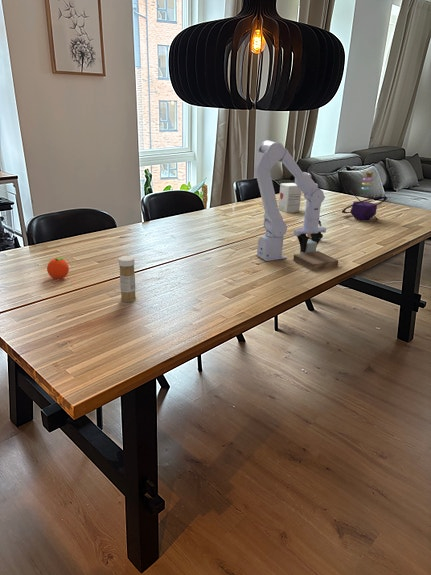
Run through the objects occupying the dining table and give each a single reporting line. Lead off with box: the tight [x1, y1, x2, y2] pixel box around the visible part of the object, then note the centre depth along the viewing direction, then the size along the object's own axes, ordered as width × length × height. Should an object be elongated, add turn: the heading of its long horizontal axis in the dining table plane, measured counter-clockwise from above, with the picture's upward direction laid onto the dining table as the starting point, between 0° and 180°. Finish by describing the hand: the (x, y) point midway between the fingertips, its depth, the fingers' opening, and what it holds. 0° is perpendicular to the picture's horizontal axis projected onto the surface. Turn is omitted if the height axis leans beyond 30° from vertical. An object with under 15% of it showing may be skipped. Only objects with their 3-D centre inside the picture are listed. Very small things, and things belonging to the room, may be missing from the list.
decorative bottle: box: [341, 171, 388, 222], centre depth 235 cm, size 22×21×25 cm
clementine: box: [46, 257, 70, 280], centre depth 149 cm, size 8×7×7 cm
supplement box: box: [278, 182, 302, 214], centre depth 251 cm, size 9×9×15 cm
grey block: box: [299, 239, 318, 254], centre depth 180 cm, size 4×4×6 cm
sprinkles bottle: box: [118, 255, 137, 303], centre depth 133 cm, size 5×5×13 cm
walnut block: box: [292, 250, 340, 272], centre depth 171 cm, size 12×12×3 cm
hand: (307, 251), depth 181 cm, fingers closed on grey block, 4 cm apart
